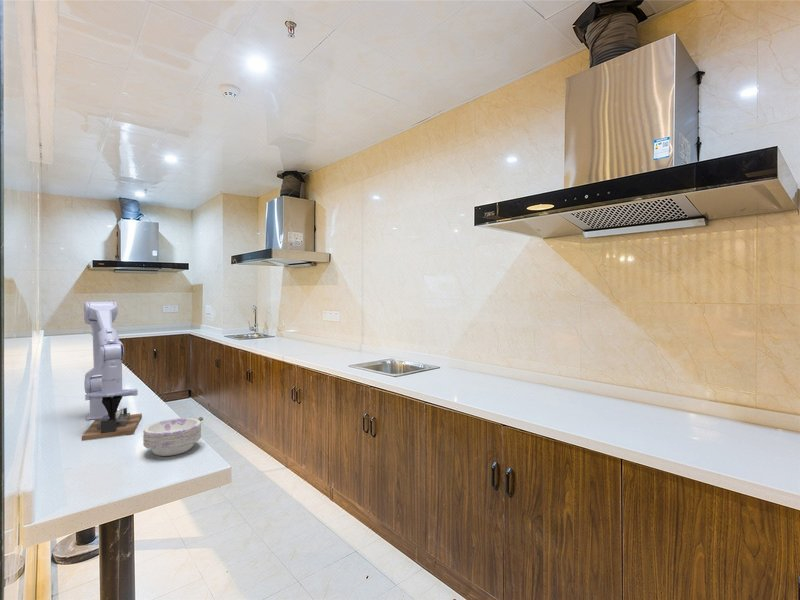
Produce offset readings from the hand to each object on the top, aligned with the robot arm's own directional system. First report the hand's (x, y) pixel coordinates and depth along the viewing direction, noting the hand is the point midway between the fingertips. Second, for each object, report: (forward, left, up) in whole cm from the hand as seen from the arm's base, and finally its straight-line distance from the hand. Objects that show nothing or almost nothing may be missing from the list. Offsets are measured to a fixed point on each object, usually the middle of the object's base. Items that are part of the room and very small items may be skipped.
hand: (112, 418), depth 138 cm
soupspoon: (+10, +23, -5) cm, 26 cm away
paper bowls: (+28, +20, -5) cm, 35 cm away
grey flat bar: (-3, 0, -1) cm, 3 cm away
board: (-3, 0, -4) cm, 5 cm away
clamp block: (-2, 0, -3) cm, 3 cm away
